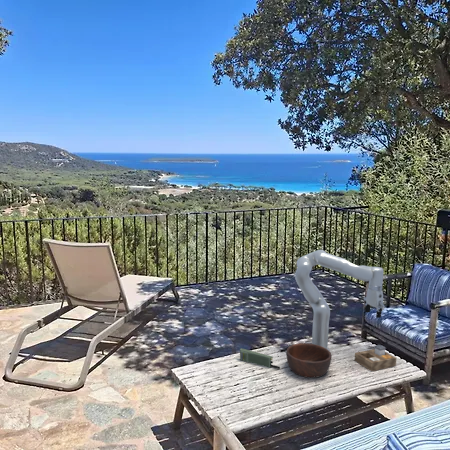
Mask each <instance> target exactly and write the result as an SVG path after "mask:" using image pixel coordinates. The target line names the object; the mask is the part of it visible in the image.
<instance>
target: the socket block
mask: <svg viewBox="0 0 450 450" xmlns="http://www.w3.org/2000/svg"><path fill="white" fill-rule="evenodd" d="M354 362H356V363H357V364H359V365H361V366H362V367H364V368H365V369H367V370H368V371H370V372H375V371H380V370H383V369H388V368H389V369H390V368H393V367H396V366H397V357H395V356H394V355H392V354H391V353H388V352H387V351H385V355H381V356H379V355H377V354H375V348H372V349H368V350H363V351H358V352H355V353H354Z"/></svg>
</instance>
